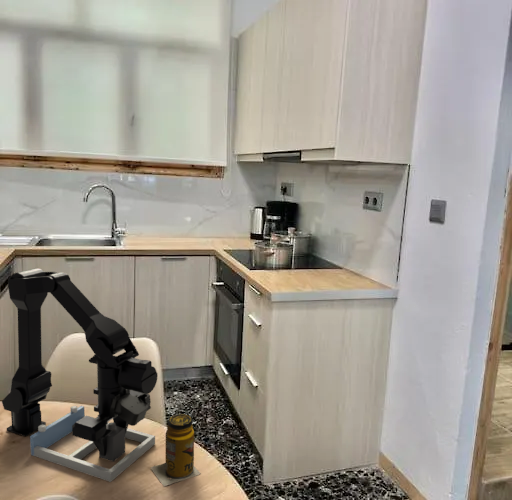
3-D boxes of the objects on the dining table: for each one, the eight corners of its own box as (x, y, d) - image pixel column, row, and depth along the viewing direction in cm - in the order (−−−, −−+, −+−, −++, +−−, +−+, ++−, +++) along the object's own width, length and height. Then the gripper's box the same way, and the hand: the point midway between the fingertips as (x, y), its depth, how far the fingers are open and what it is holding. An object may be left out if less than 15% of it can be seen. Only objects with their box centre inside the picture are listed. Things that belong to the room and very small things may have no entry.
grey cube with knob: (99, 457, 113) (98, 426, 112) (110, 448, 117) (110, 418, 115) (113, 461, 111) (113, 430, 110) (125, 452, 115) (124, 422, 114)
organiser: (29, 454, 113) (28, 431, 112) (80, 422, 127) (80, 401, 127) (110, 481, 104) (110, 457, 103) (155, 443, 119) (155, 422, 118)
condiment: (200, 474, 108) (201, 422, 106) (163, 487, 103) (164, 433, 101) (186, 457, 114) (186, 407, 112) (150, 468, 109) (150, 417, 107)
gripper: (113, 409, 99) (114, 481, 102) (165, 374, 116) (165, 437, 119) (69, 397, 104) (71, 467, 106) (126, 365, 121) (126, 426, 123)
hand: (112, 448), depth 114 cm, fingers open, 6 cm apart
